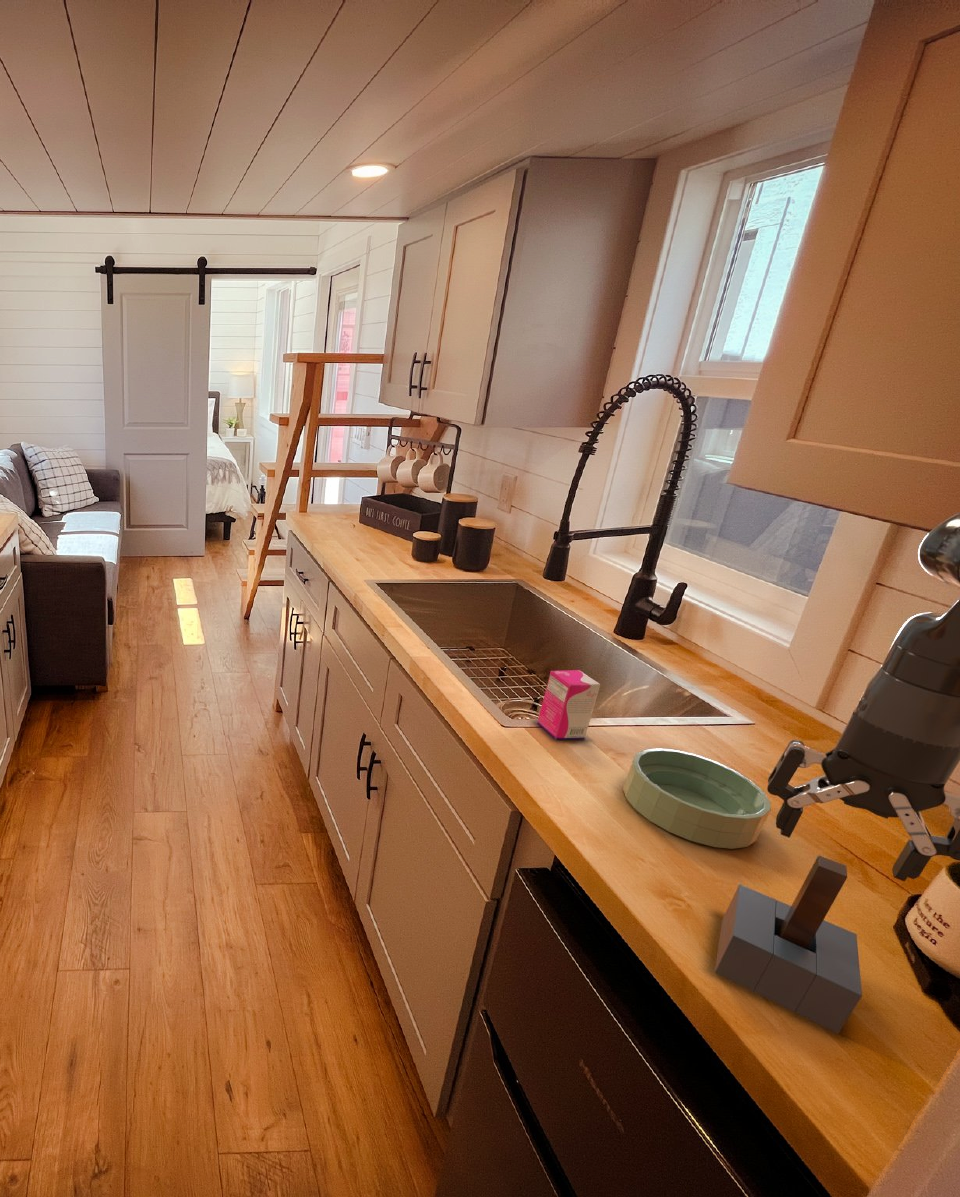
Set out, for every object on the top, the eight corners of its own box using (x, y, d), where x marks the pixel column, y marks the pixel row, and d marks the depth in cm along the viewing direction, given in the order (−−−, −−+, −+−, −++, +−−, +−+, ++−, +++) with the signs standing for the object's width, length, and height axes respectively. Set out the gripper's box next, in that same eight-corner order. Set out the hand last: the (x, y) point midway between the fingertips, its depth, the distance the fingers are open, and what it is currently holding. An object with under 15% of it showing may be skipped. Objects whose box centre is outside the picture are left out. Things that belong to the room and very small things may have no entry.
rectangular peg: (787, 972, 74) (846, 865, 68) (787, 985, 73) (847, 877, 67) (762, 960, 76) (818, 854, 69) (761, 972, 74) (818, 865, 68)
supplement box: (564, 722, 122) (580, 669, 118) (585, 740, 117) (603, 685, 113) (535, 722, 122) (550, 669, 118) (554, 741, 116) (571, 685, 112)
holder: (834, 971, 74) (856, 933, 72) (837, 1035, 67) (862, 995, 65) (721, 919, 81) (739, 883, 78) (714, 973, 74) (733, 935, 72)
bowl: (757, 812, 100) (772, 780, 98) (751, 870, 89) (768, 835, 86) (632, 765, 110) (643, 736, 108) (612, 812, 99) (624, 780, 97)
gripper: (1019, 736, 59) (934, 870, 66) (810, 681, 68) (752, 803, 74) (1039, 772, 54) (944, 914, 60) (810, 707, 63) (748, 836, 69)
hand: (838, 853), depth 67 cm, fingers open, 8 cm apart
